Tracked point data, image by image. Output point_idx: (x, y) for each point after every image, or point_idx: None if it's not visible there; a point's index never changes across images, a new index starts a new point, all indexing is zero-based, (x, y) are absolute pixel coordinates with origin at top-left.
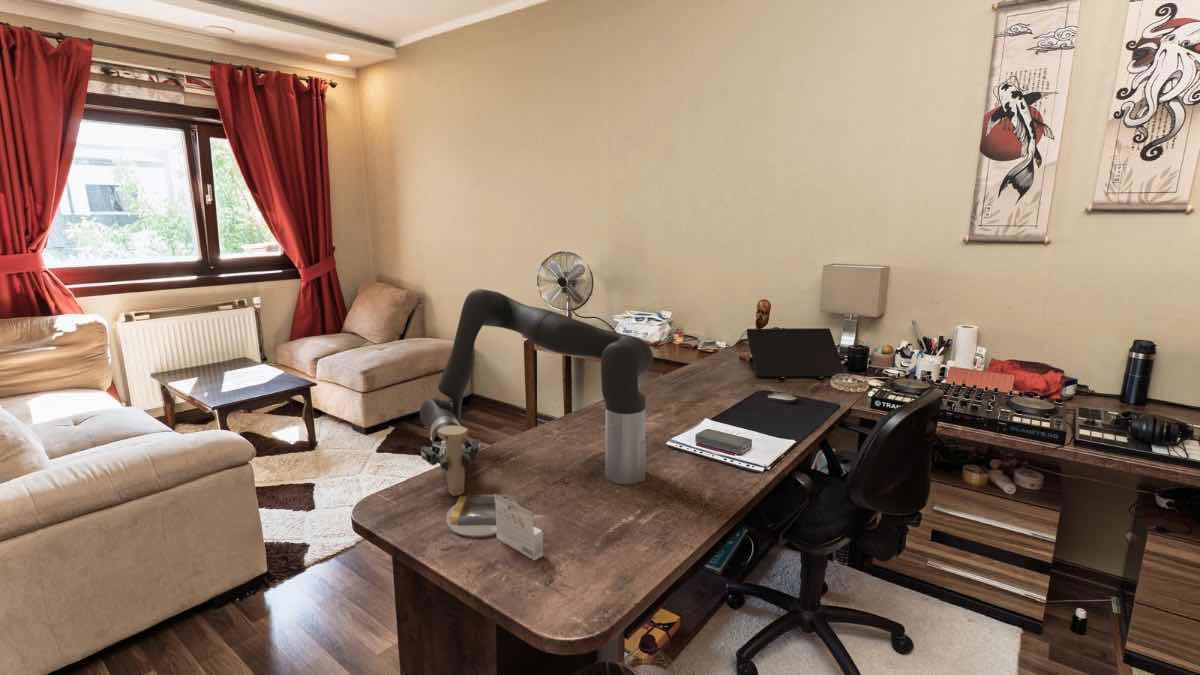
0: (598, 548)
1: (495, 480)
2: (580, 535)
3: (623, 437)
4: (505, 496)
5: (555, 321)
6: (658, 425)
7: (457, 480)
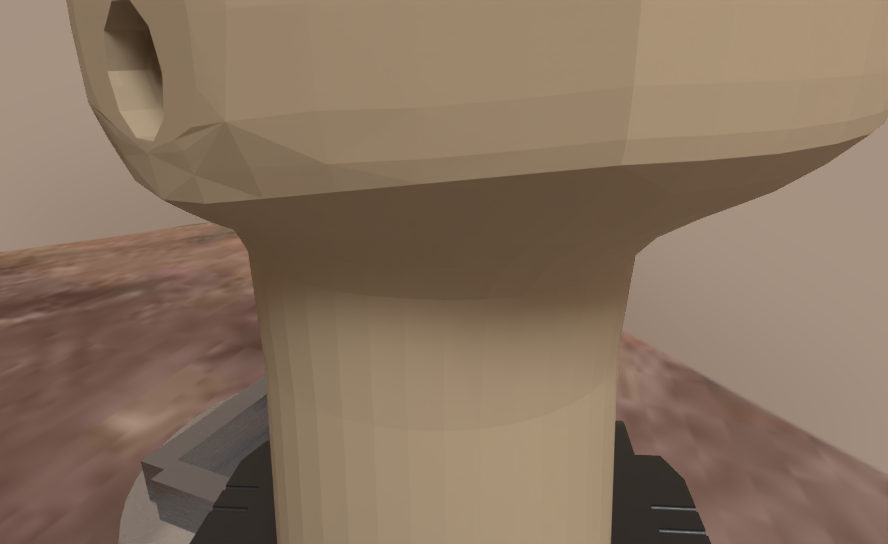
0: (149, 285)
1: None
2: (129, 320)
3: None
4: (180, 465)
5: None
6: None
7: None
